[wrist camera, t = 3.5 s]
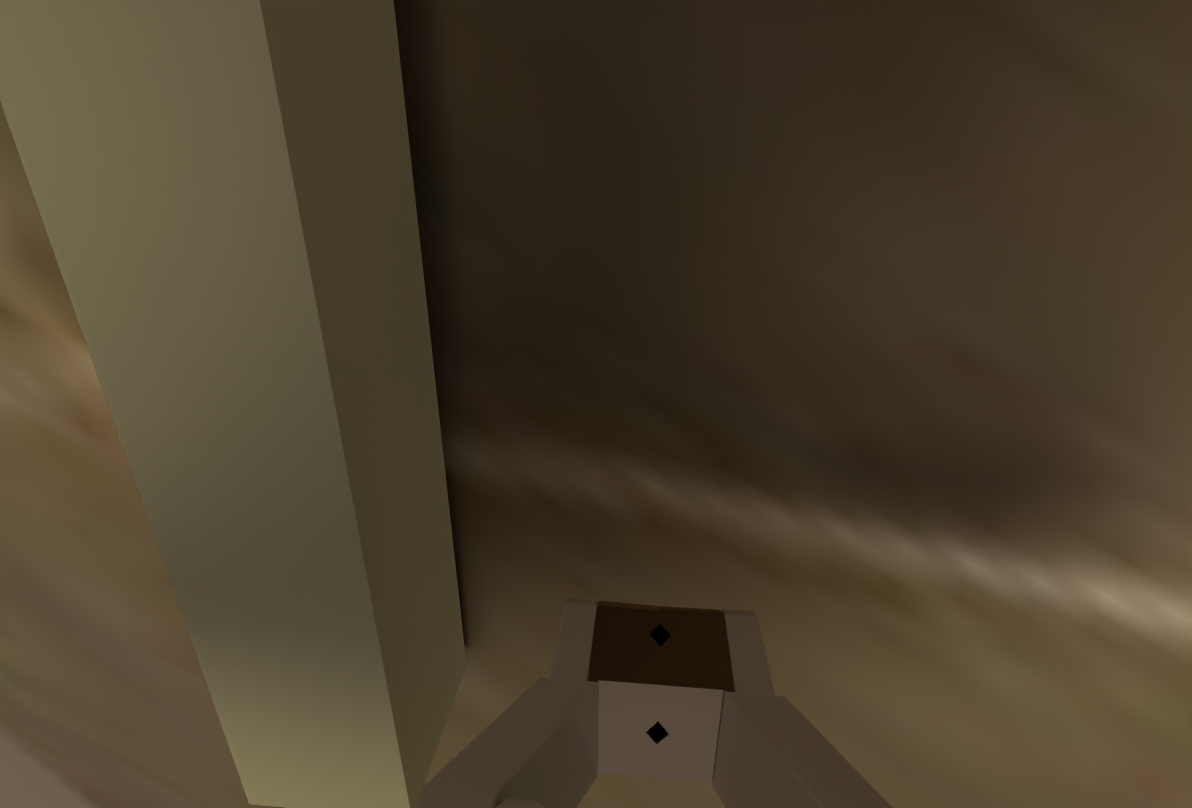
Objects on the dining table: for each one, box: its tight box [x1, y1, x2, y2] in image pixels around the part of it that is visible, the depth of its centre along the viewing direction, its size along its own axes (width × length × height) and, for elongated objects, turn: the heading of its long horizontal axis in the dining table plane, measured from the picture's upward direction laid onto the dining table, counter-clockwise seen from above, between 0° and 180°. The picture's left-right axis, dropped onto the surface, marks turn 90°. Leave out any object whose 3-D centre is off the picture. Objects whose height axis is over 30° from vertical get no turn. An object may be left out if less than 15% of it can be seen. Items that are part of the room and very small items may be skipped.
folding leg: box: [0, 0, 466, 808], centre depth 10 cm, size 23×4×5 cm, turn 0°
